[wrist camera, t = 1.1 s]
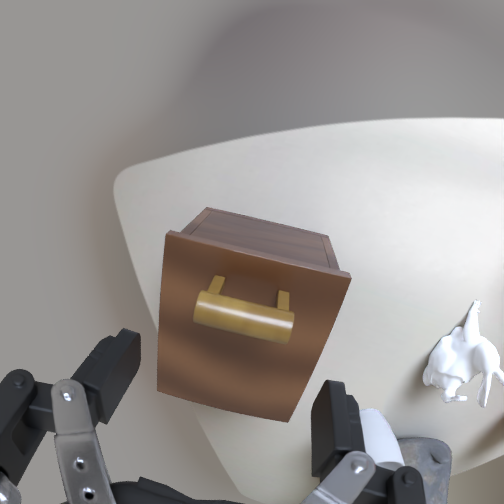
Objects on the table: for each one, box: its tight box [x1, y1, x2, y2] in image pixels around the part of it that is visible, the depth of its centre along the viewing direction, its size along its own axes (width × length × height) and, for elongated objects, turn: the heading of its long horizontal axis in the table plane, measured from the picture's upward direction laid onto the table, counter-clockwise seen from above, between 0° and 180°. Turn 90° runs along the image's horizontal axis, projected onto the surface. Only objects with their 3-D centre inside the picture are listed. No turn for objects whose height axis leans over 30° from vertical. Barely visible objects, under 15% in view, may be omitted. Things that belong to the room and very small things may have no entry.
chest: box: [180, 207, 340, 270], centre depth 27 cm, size 14×12×10 cm
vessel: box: [397, 438, 452, 504], centre depth 32 cm, size 22×22×20 cm
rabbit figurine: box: [423, 301, 504, 408], centre depth 27 cm, size 12×8×10 cm, turn 146°
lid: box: [157, 230, 352, 423], centre depth 20 cm, size 14×12×5 cm
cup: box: [359, 409, 405, 471], centre depth 33 cm, size 8×8×10 cm
